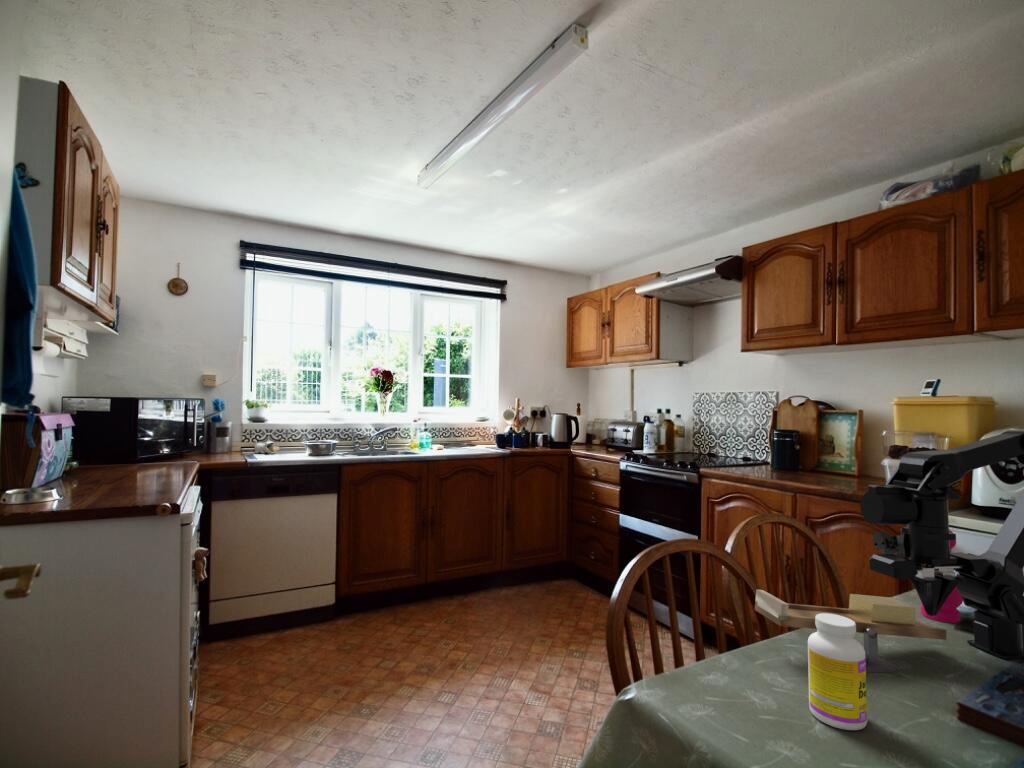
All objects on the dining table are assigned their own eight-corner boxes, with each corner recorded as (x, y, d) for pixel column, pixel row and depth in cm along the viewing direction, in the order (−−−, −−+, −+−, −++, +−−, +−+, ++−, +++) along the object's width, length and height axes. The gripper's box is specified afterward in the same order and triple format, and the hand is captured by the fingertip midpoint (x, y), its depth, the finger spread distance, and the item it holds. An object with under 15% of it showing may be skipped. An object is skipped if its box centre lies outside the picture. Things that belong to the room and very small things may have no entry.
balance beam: (909, 623, 93) (910, 603, 94) (946, 639, 86) (947, 618, 87) (754, 609, 90) (756, 589, 90) (780, 626, 83) (781, 603, 83)
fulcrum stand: (839, 639, 94) (838, 604, 95) (895, 671, 82) (894, 631, 83) (809, 640, 94) (808, 605, 94) (861, 672, 82) (860, 632, 82)
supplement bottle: (869, 739, 65) (865, 633, 65) (808, 722, 68) (805, 622, 69) (866, 713, 70) (863, 616, 71) (810, 699, 74) (807, 607, 75)
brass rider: (889, 617, 92) (890, 597, 92) (914, 629, 87) (915, 607, 87) (848, 614, 91) (849, 593, 91) (871, 625, 86) (872, 603, 86)
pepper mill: (946, 611, 109) (942, 515, 110) (973, 624, 102) (968, 521, 103) (909, 609, 110) (906, 514, 111) (933, 623, 102) (929, 520, 104)
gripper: (932, 515, 100) (936, 597, 99) (844, 516, 98) (847, 600, 97) (992, 527, 89) (996, 620, 88) (894, 529, 87) (898, 624, 86)
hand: (931, 615), depth 90 cm, fingers closed
